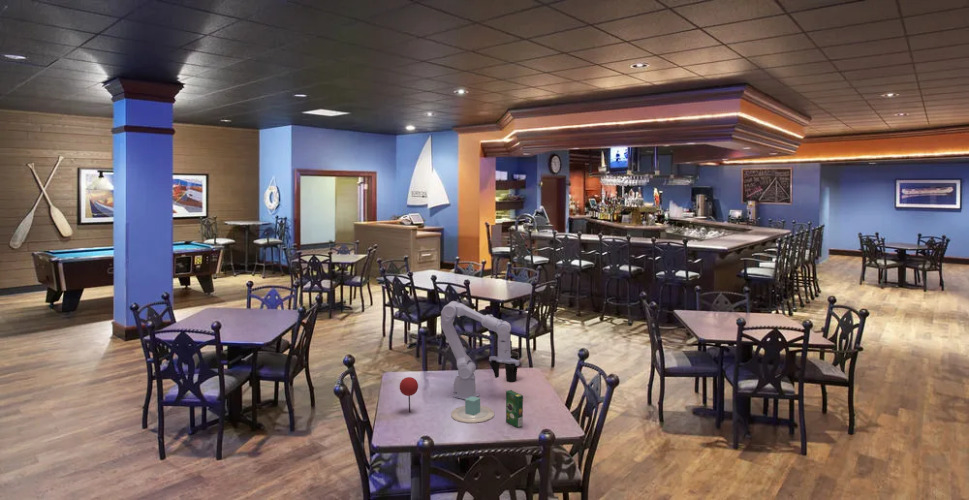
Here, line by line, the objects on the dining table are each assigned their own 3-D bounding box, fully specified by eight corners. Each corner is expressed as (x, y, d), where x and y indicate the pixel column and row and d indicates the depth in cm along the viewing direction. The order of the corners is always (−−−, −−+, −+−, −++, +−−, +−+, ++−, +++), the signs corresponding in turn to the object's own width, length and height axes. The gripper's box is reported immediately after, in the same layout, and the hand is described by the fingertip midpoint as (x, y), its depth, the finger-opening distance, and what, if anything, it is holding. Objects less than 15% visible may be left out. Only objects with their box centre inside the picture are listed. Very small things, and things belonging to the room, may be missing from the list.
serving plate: (442, 417, 243) (442, 415, 243) (466, 404, 258) (466, 402, 258) (479, 426, 233) (479, 424, 233) (502, 411, 248) (502, 409, 248)
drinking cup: (502, 378, 293) (502, 339, 291) (517, 377, 293) (517, 338, 291) (504, 383, 285) (504, 343, 283) (520, 382, 286) (519, 342, 284)
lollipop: (421, 409, 252) (420, 375, 250) (413, 416, 245) (412, 381, 243) (405, 407, 254) (404, 374, 253) (397, 414, 247) (396, 379, 246)
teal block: (465, 413, 245) (465, 399, 244) (471, 409, 248) (471, 396, 248) (474, 415, 242) (474, 401, 242) (480, 412, 246) (480, 398, 245)
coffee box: (523, 426, 232) (523, 394, 231) (517, 428, 231) (517, 396, 229) (511, 420, 239) (511, 389, 238) (505, 422, 237) (505, 390, 236)
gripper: (485, 348, 262) (485, 378, 263) (513, 353, 254) (514, 383, 256) (493, 345, 268) (493, 374, 269) (521, 349, 260) (521, 379, 262)
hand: (504, 378), depth 263 cm, fingers open, 7 cm apart
